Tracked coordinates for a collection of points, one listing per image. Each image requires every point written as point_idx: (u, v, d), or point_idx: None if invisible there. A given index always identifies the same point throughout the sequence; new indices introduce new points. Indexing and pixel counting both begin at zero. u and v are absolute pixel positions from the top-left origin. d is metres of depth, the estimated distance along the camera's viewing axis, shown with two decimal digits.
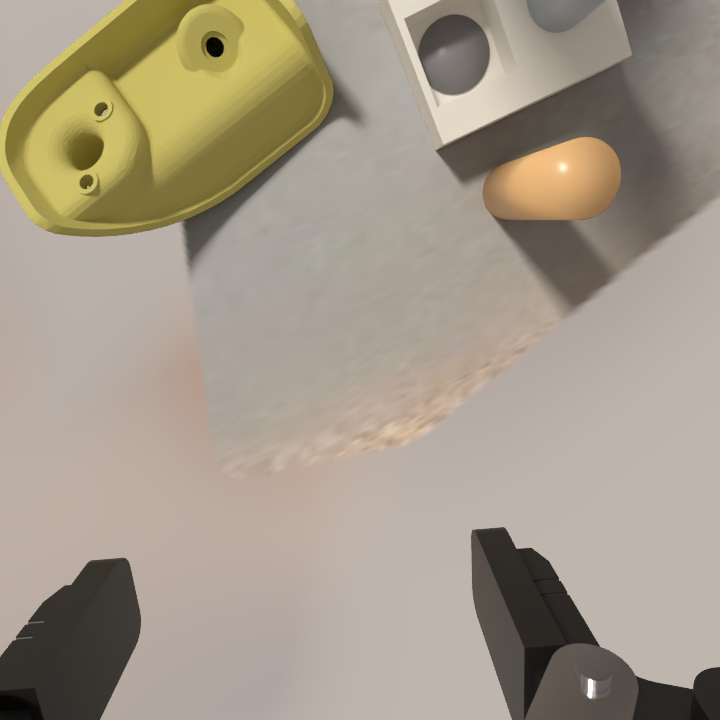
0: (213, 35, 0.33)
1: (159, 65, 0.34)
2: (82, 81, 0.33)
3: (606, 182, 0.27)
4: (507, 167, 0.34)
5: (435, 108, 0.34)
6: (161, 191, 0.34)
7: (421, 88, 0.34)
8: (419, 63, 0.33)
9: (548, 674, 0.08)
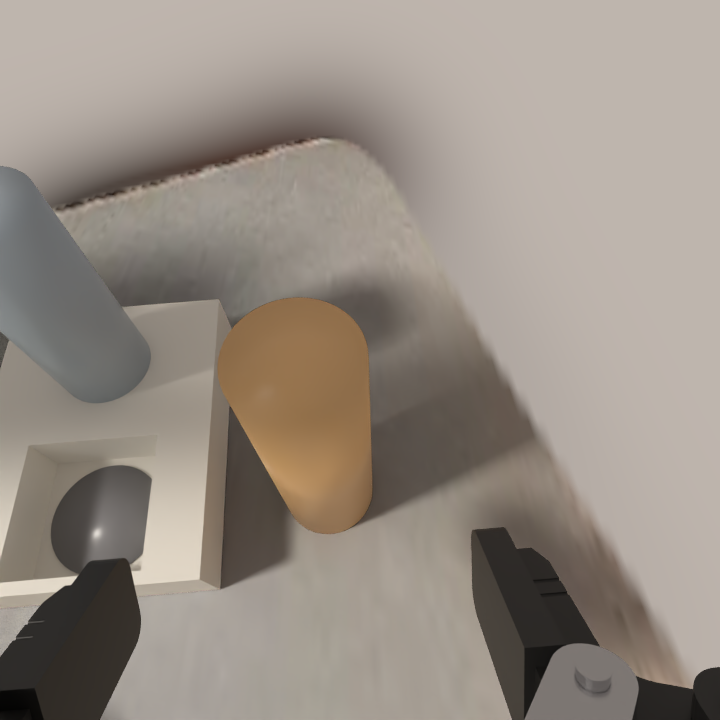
0: None
1: None
2: None
3: (316, 322, 0.15)
4: None
5: (140, 574, 0.20)
6: None
7: None
8: (65, 579, 0.20)
9: (548, 674, 0.08)
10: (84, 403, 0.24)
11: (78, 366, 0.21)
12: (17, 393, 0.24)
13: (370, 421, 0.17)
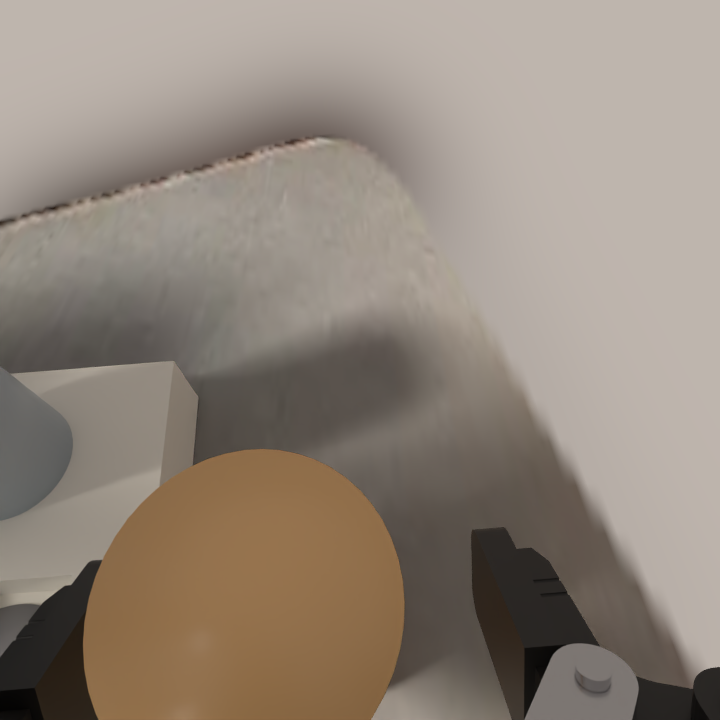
0: None
1: None
2: None
3: (296, 508, 0.07)
4: None
5: None
6: None
7: None
8: None
9: (548, 674, 0.08)
10: None
11: None
12: None
13: None
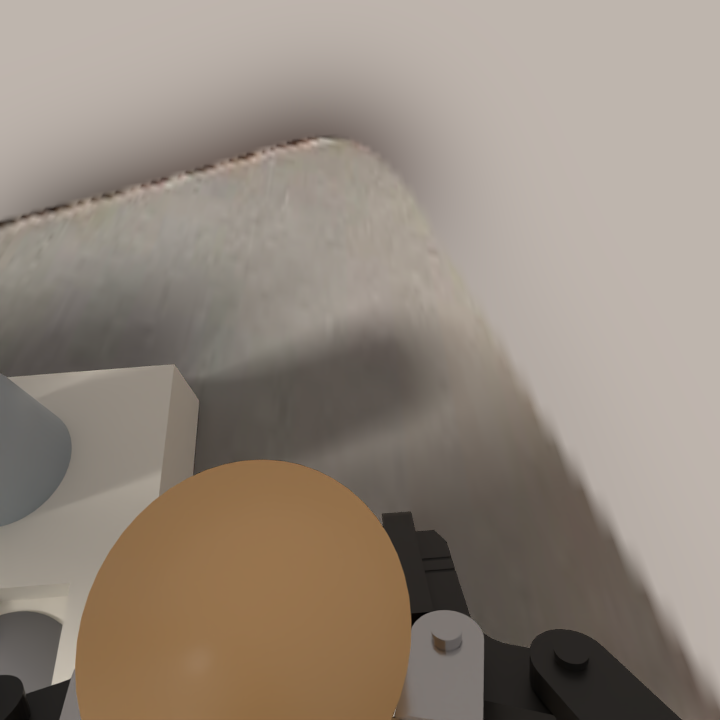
0: None
1: None
2: None
3: (298, 522, 0.07)
4: None
5: None
6: None
7: None
8: None
9: None
10: None
11: None
12: None
13: None
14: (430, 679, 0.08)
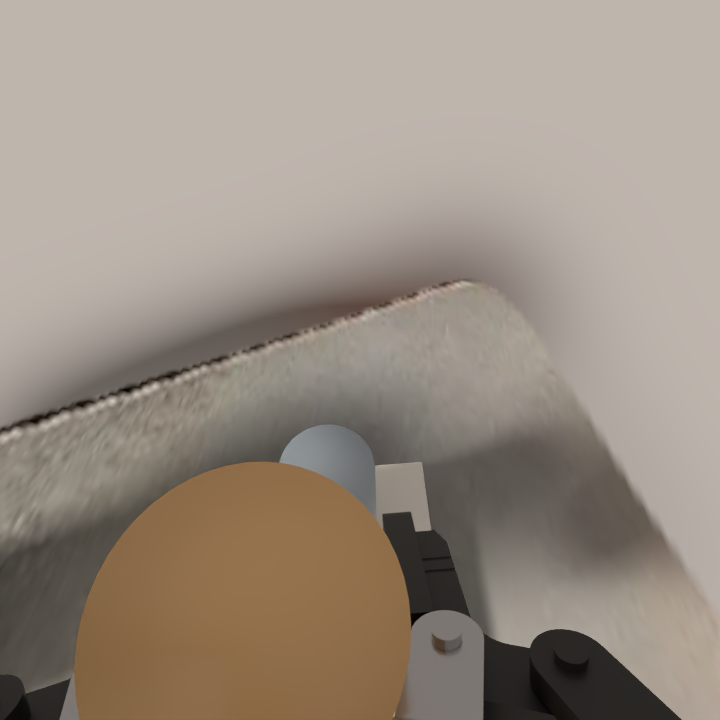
0: None
1: None
2: None
3: (297, 524, 0.07)
4: None
5: None
6: None
7: None
8: None
9: None
10: None
11: None
12: None
13: None
14: (430, 679, 0.08)
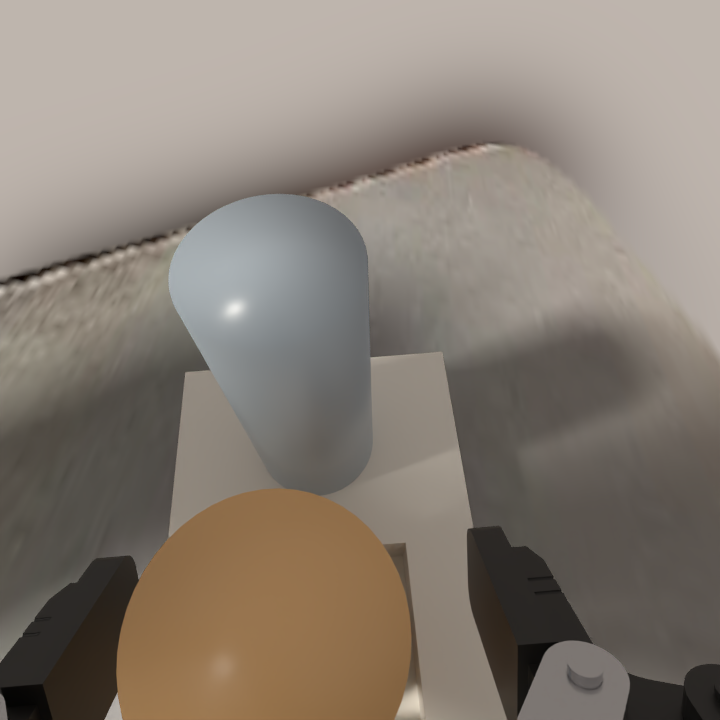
0: None
1: None
2: None
3: (311, 545, 0.08)
4: None
5: None
6: None
7: None
8: None
9: (541, 671, 0.08)
10: None
11: (327, 461, 0.15)
12: (206, 480, 0.18)
13: None
14: None
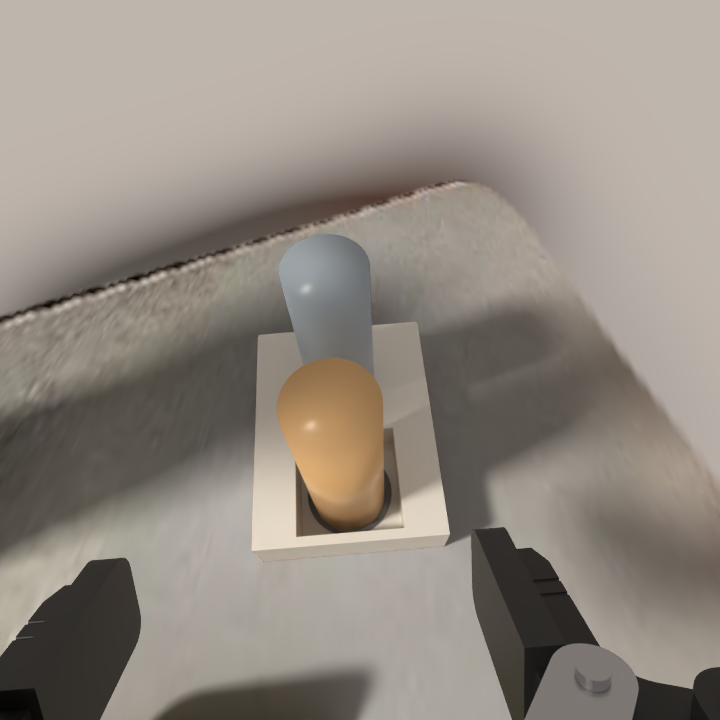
0: None
1: None
2: None
3: (345, 377, 0.20)
4: (309, 491, 0.26)
5: (405, 530, 0.27)
6: None
7: (376, 540, 0.27)
8: (349, 534, 0.27)
9: (548, 674, 0.08)
10: None
11: None
12: (275, 396, 0.31)
13: (383, 444, 0.23)
14: None
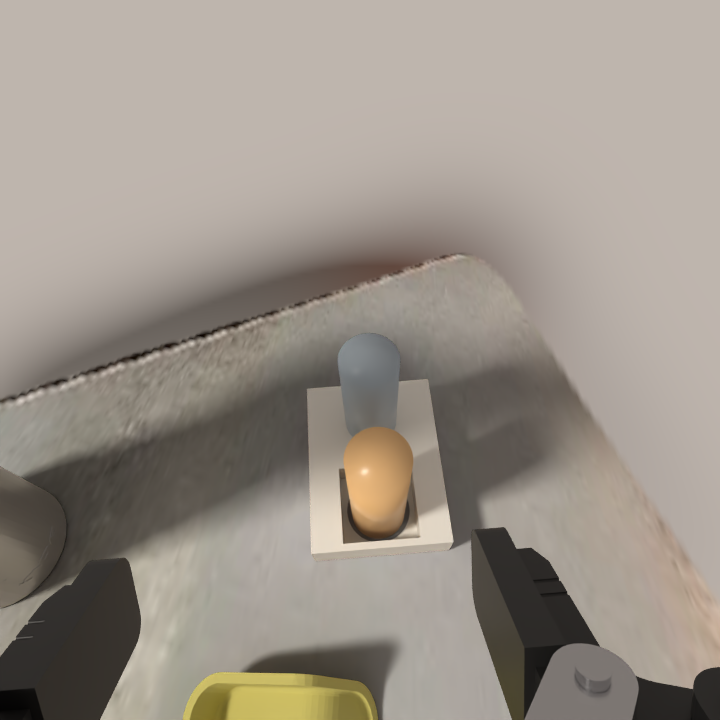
0: None
1: None
2: None
3: (388, 440, 0.31)
4: (353, 511, 0.37)
5: (421, 539, 0.37)
6: None
7: (400, 546, 0.37)
8: (381, 541, 0.37)
9: (548, 674, 0.08)
10: None
11: (380, 426, 0.38)
12: (322, 437, 0.41)
13: None
14: None
